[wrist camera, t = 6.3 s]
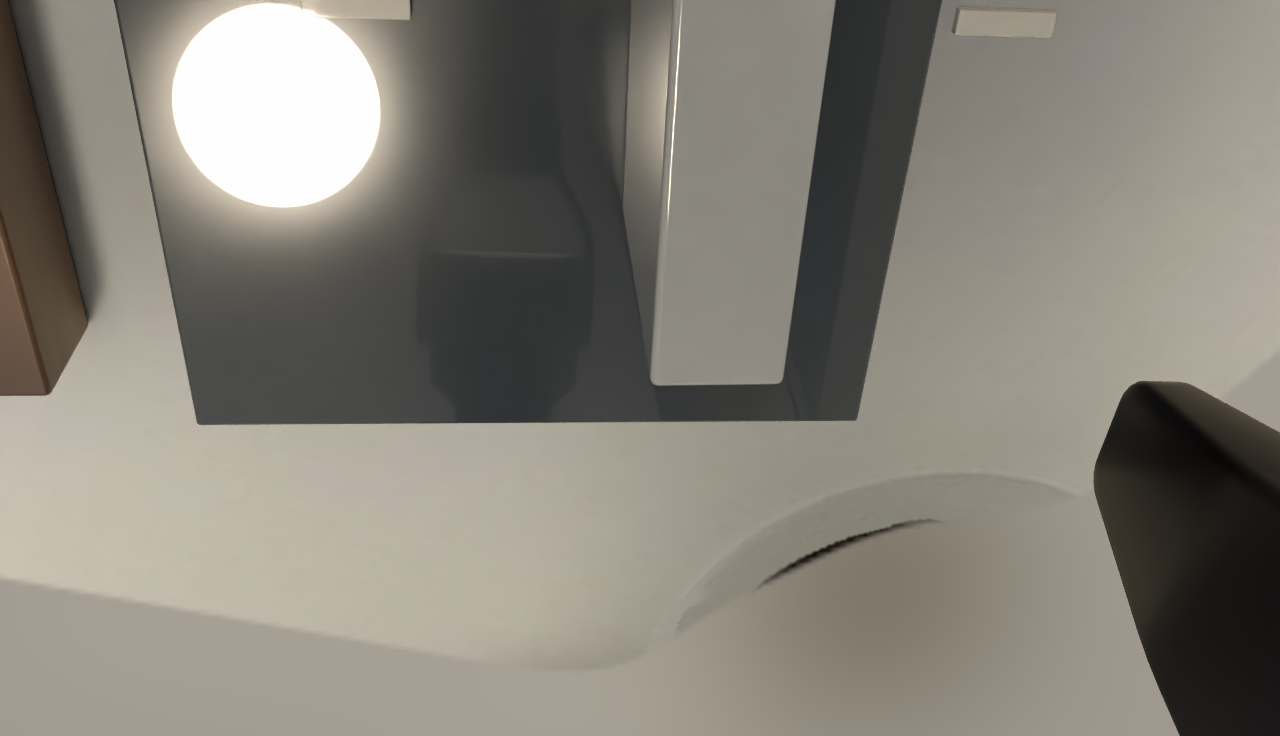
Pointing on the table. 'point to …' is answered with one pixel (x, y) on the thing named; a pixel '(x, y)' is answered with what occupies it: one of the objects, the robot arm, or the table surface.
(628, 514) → the table surface
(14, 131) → the button block
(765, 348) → the grey and red block
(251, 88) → the dark grey flat block
